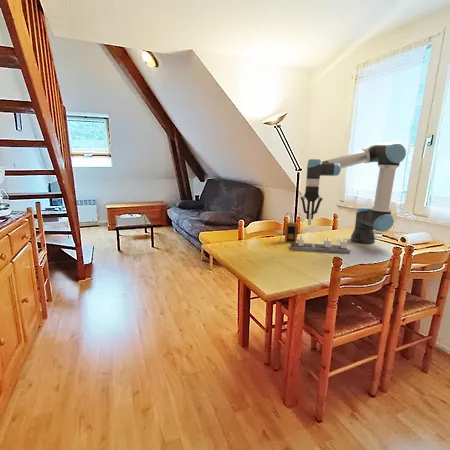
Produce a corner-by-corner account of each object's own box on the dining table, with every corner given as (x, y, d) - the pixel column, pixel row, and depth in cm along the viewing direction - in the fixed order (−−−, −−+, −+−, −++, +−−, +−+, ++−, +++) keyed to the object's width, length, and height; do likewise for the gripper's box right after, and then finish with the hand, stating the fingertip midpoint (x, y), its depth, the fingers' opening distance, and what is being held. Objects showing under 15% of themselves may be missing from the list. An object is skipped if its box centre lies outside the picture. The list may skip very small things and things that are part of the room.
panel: (345, 248, 182) (346, 245, 182) (350, 253, 172) (350, 250, 172) (290, 245, 187) (290, 242, 187) (291, 250, 178) (291, 246, 177)
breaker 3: (344, 246, 179) (345, 239, 178) (346, 248, 175) (347, 241, 174) (339, 245, 180) (340, 239, 179) (341, 248, 175) (342, 241, 174)
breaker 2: (328, 245, 181) (329, 238, 180) (330, 247, 176) (331, 240, 175) (323, 244, 181) (324, 238, 180) (325, 247, 176) (325, 240, 175)
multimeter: (299, 238, 203) (301, 210, 198) (301, 242, 193) (303, 213, 189) (278, 237, 204) (279, 210, 200) (279, 241, 195) (281, 212, 190)
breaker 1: (302, 243, 183) (302, 237, 182) (303, 246, 178) (303, 239, 177) (297, 243, 184) (298, 237, 183) (298, 245, 179) (298, 239, 178)
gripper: (322, 185, 175) (319, 223, 180) (300, 184, 177) (297, 222, 182) (324, 186, 167) (321, 226, 173) (301, 186, 169) (298, 225, 175)
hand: (309, 224), depth 177 cm, fingers closed
